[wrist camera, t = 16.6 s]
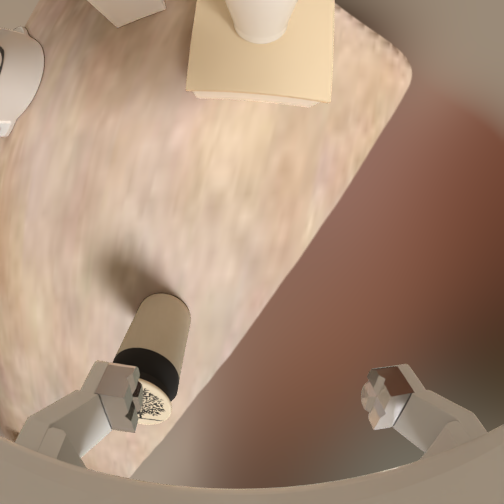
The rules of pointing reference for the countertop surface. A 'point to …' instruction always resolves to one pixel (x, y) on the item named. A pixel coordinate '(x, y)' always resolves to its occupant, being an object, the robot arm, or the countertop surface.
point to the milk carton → (127, 9)
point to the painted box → (263, 57)
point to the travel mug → (157, 353)
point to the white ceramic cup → (260, 18)
